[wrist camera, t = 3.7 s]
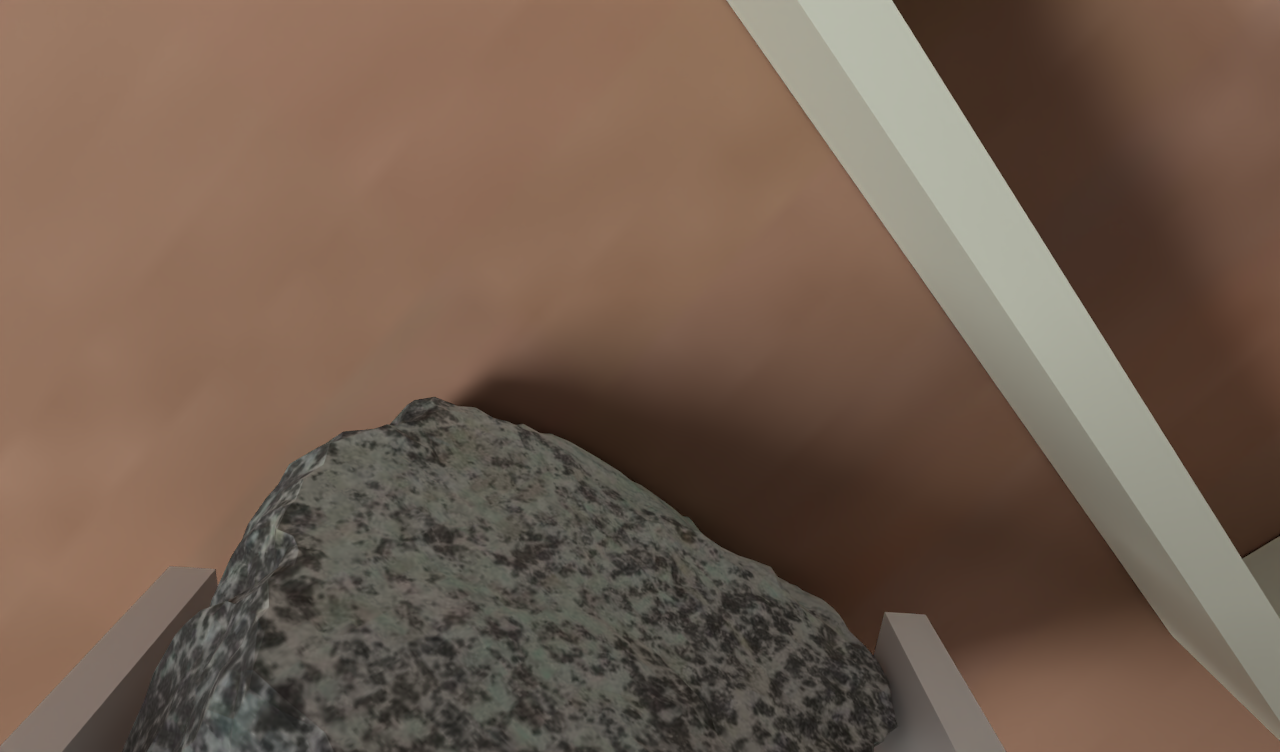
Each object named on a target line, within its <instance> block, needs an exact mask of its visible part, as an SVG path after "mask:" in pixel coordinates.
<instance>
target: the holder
mask: <svg viewBox="0 0 1280 752" xmlns="http://www.w3.org/2000/svg"><path fill="white" fill-rule="evenodd" d="M727 2H728V3H729V4H730V6H731V7H732V9H733V10H734V12H735V13H736V14H737V16H738V17H739V19H740V20H741V22H742V23H743V24H744V26H745V27H746V29H747V30H748V32H749V33H750V34H751V36H752V37H753V39H754V40H755V42H756V43H757V44H758V46H759V47H760V49H761V50H762V52H763V53H764V54H765V56H766V57H767V59H768V60H769V62H770V63H771V64H772V66H773V67H774V69H775V70H776V71H777V73H778V74H779V76H780V77H781V79H782V80H783V81H784V83H785V84H786V86H787V87H788V89H789V90H790V91H791V93H792V94H793V96H794V97H795V99H796V100H797V101H798V103H799V104H800V106H801V107H802V109H803V110H804V111H805V113H806V114H807V116H808V117H809V119H810V120H811V121H812V123H813V124H814V126H815V127H816V129H817V130H818V131H819V133H820V134H821V136H822V137H823V139H824V140H825V141H826V143H827V144H828V146H829V147H830V149H831V150H832V151H833V153H834V154H835V156H836V157H837V159H838V160H839V161H840V163H841V164H842V166H843V167H844V169H845V170H846V171H847V173H848V174H849V176H850V177H851V179H852V180H853V181H854V183H855V184H856V186H857V187H858V189H859V190H860V191H861V193H862V194H863V196H864V197H865V199H866V200H867V201H868V203H869V204H870V206H871V207H872V209H873V210H874V211H875V213H876V214H877V216H878V217H879V219H880V220H881V221H882V223H883V224H884V226H885V227H886V229H887V230H888V231H889V233H890V234H891V236H892V237H893V238H894V240H895V241H896V243H897V244H898V246H899V247H900V248H901V250H902V251H903V253H904V254H905V256H906V257H907V258H908V260H909V261H910V263H911V264H912V266H913V267H914V268H915V270H916V271H917V273H918V274H919V276H920V277H921V278H922V280H923V281H924V283H925V284H926V286H927V287H928V288H929V290H930V291H931V293H932V294H933V296H934V297H935V298H936V300H937V301H938V303H939V304H940V306H941V307H942V308H943V310H944V311H945V313H946V314H947V316H948V317H949V318H950V320H951V321H952V323H953V324H954V326H955V327H956V328H957V330H958V331H959V333H960V334H961V336H962V337H963V338H964V340H965V341H966V343H967V344H968V346H969V347H970V348H971V350H972V351H973V353H974V354H975V356H976V357H977V358H978V360H979V361H980V363H981V364H982V366H983V367H984V368H985V370H986V371H987V373H988V374H989V376H990V377H991V378H992V380H993V381H994V383H995V384H996V386H997V387H998V388H999V390H1000V391H1001V393H1002V394H1003V395H1004V397H1005V398H1006V400H1007V401H1008V403H1009V404H1010V405H1011V407H1012V408H1013V410H1014V411H1015V413H1016V414H1017V415H1018V417H1019V418H1020V420H1021V421H1022V423H1023V424H1024V425H1025V427H1026V428H1027V430H1028V431H1029V433H1030V434H1031V435H1032V437H1033V438H1034V440H1035V441H1036V443H1037V444H1038V445H1039V447H1040V448H1041V450H1042V451H1043V453H1044V454H1045V455H1046V457H1047V458H1048V460H1049V461H1050V463H1051V464H1052V465H1053V467H1054V468H1055V470H1056V471H1057V473H1058V474H1059V475H1060V477H1061V478H1062V480H1063V481H1064V483H1065V484H1066V485H1067V487H1068V488H1069V490H1070V491H1071V493H1072V494H1073V495H1074V497H1075V498H1076V500H1077V501H1078V503H1079V504H1080V505H1081V507H1082V508H1083V510H1084V511H1085V513H1086V514H1087V515H1088V517H1089V518H1090V520H1091V521H1092V523H1093V524H1094V525H1095V527H1096V528H1097V530H1098V531H1099V533H1100V534H1101V535H1102V537H1103V538H1104V540H1105V541H1106V543H1107V544H1108V545H1109V547H1110V548H1111V550H1112V551H1113V553H1114V554H1115V555H1116V557H1117V558H1118V560H1119V561H1120V562H1121V564H1122V565H1123V567H1124V568H1125V570H1126V571H1127V572H1128V574H1129V575H1130V577H1131V578H1132V580H1133V581H1134V582H1135V584H1136V585H1137V587H1138V588H1139V590H1140V591H1141V592H1142V594H1143V595H1144V597H1145V598H1146V600H1147V601H1148V602H1149V604H1150V605H1151V607H1152V608H1153V610H1154V611H1155V612H1156V614H1157V615H1158V617H1159V618H1160V620H1161V621H1162V622H1163V624H1164V625H1165V627H1166V628H1167V630H1168V631H1169V632H1170V634H1171V635H1172V636H1173V637H1174V638H1175V639H1176V640H1177V641H1178V642H1179V643H1180V644H1181V645H1182V646H1183V647H1184V648H1185V649H1186V650H1187V651H1188V652H1189V653H1190V654H1191V655H1192V656H1193V657H1194V658H1195V659H1196V660H1197V661H1198V662H1199V663H1200V664H1201V665H1203V666H1204V667H1205V668H1206V669H1207V670H1208V671H1209V672H1210V673H1211V674H1212V675H1213V676H1214V677H1215V678H1216V679H1217V680H1218V681H1219V682H1220V683H1221V684H1222V685H1223V686H1224V687H1225V688H1226V689H1227V690H1228V691H1229V692H1230V693H1231V694H1232V695H1233V696H1234V697H1235V698H1236V699H1237V700H1238V701H1239V702H1240V703H1242V704H1243V705H1244V706H1245V707H1246V708H1247V709H1248V710H1249V711H1250V712H1251V713H1252V714H1253V715H1254V716H1255V717H1256V718H1257V719H1258V720H1259V721H1260V722H1261V723H1262V724H1263V725H1264V726H1265V727H1266V728H1267V729H1268V730H1269V731H1270V732H1271V733H1272V734H1273V735H1274V736H1275V737H1276V738H1277V739H1278V740H1279V741H1280V536H1279V537H1277V538H1276V539H1274V540H1272V541H1271V542H1269V543H1268V544H1266V545H1264V546H1263V547H1261V548H1259V549H1258V550H1256V551H1254V552H1253V553H1251V554H1249V555H1248V556H1246V557H1244V558H1243V559H1242V558H1241V556H1240V555H1239V553H1238V552H1237V550H1236V548H1235V547H1234V545H1233V544H1232V542H1231V540H1230V539H1229V537H1228V536H1227V534H1226V532H1225V531H1224V529H1223V528H1222V526H1221V524H1220V523H1219V521H1218V520H1217V518H1216V516H1215V515H1214V513H1213V512H1212V510H1211V508H1210V507H1209V505H1208V504H1207V502H1206V501H1205V499H1204V497H1203V496H1202V494H1201V493H1200V491H1199V489H1198V488H1197V486H1196V485H1195V483H1194V481H1193V480H1192V478H1191V477H1190V475H1189V473H1188V472H1187V470H1186V469H1185V467H1184V465H1183V464H1182V462H1181V461H1180V459H1179V457H1178V456H1177V454H1176V453H1175V451H1174V449H1173V448H1172V446H1171V445H1170V443H1169V441H1168V440H1167V438H1166V437H1165V435H1164V433H1163V432H1162V430H1161V429H1160V427H1159V426H1158V424H1157V422H1156V421H1155V419H1154V418H1153V416H1152V414H1151V413H1150V411H1149V410H1148V408H1147V406H1146V405H1145V403H1144V402H1143V400H1142V398H1141V397H1140V395H1139V394H1138V392H1137V390H1136V389H1135V387H1134V386H1133V384H1132V382H1131V381H1130V379H1129V378H1128V376H1127V374H1126V373H1125V371H1124V370H1123V368H1122V366H1121V365H1120V363H1119V362H1118V360H1117V358H1116V357H1115V355H1114V354H1113V352H1112V351H1111V349H1110V347H1109V346H1108V344H1107V343H1106V341H1105V339H1104V338H1103V336H1102V335H1101V333H1100V331H1099V330H1098V328H1097V327H1096V325H1095V323H1094V322H1093V320H1092V319H1091V317H1090V315H1089V314H1088V312H1087V311H1086V309H1085V307H1084V306H1083V304H1082V303H1081V301H1080V299H1079V298H1078V296H1077V295H1076V293H1075V291H1074V290H1073V288H1072V287H1071V285H1070V283H1069V282H1068V280H1067V279H1066V277H1065V276H1064V274H1063V272H1062V271H1061V269H1060V268H1059V266H1058V264H1057V263H1056V261H1055V260H1054V258H1053V256H1052V255H1051V253H1050V252H1049V250H1048V248H1047V247H1046V245H1045V244H1044V242H1043V240H1042V239H1041V237H1040V236H1039V234H1038V232H1037V231H1036V229H1035V228H1034V226H1033V224H1032V223H1031V221H1030V220H1029V218H1028V216H1027V215H1026V213H1025V212H1024V210H1023V208H1022V207H1021V205H1020V204H1019V202H1018V201H1017V199H1016V197H1015V196H1014V194H1013V193H1012V191H1011V189H1010V188H1009V186H1008V185H1007V183H1006V181H1005V180H1004V178H1003V177H1002V175H1001V173H1000V172H999V170H998V169H997V167H996V165H995V164H994V162H993V161H992V159H991V157H990V156H989V154H988V153H987V151H986V149H985V148H984V146H983V145H982V143H981V141H980V140H979V138H978V137H977V135H976V133H975V132H974V130H973V129H972V127H971V126H970V124H969V122H968V121H967V119H966V118H965V116H964V114H963V113H962V111H961V110H960V108H959V106H958V105H957V103H956V102H955V100H954V98H953V97H952V95H951V94H950V92H949V90H948V89H947V87H946V86H945V84H944V82H943V81H942V79H941V78H940V76H939V74H938V73H937V71H936V70H935V68H934V66H933V65H932V63H931V62H930V60H929V58H928V57H927V55H926V54H925V52H924V51H923V49H922V47H921V46H920V44H919V43H918V41H917V39H916V38H915V36H914V35H913V33H912V31H911V30H910V28H909V27H908V25H907V23H906V22H905V20H904V19H903V17H902V15H901V14H900V12H899V11H898V9H897V7H896V6H895V4H894V3H893V1H892V0H727Z"/></svg>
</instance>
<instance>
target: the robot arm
mask: <svg viewBox="0 0 1280 752" xmlns="http://www.w3.org/2000/svg"><path fill="white" fill-rule="evenodd" d="M217 587H218V586H217V577H216V569H206V568H191V567H175V566H169V567H168V569H167V570H166V571H165V572H164V573H163V574H162V575H161V576H160V577H159V578H158V579H157V580H156V581H155V582H154V583H153V584H152V586H151V587H150V588H149V589H148V590H147V591H146V592H145V593H144V594H143V595H142V596H141V597H140V598H139V599H138V600H137V601H136V602H135V604H134V605H133V606H132V607H131V608H130V609H129V610H128V611H127V612H126V613H125V614H124V615H123V616H122V617H121V618H120V619H119V621H118V622H117V623H116V624H115V625H114V626H113V627H112V628H111V629H110V630H109V631H108V632H107V633H106V634H105V635H104V636H103V637H102V639H101V640H100V641H99V642H98V643H97V644H96V645H95V646H94V647H93V648H92V649H91V650H90V651H89V652H88V653H87V654H86V656H85V657H84V658H83V659H82V660H81V661H80V662H79V663H78V664H77V665H76V666H75V667H74V668H73V669H72V670H71V671H70V672H69V674H68V675H67V676H66V677H65V678H64V679H63V680H62V681H61V682H60V683H59V684H58V685H57V686H56V687H55V688H54V689H53V691H52V692H51V693H50V694H49V695H48V696H47V697H46V698H45V699H44V700H43V701H42V702H41V703H40V704H39V705H38V706H37V707H36V709H35V710H34V711H33V712H32V713H31V714H30V715H29V716H28V717H27V718H26V719H25V720H24V721H23V722H22V723H21V724H20V725H19V727H18V728H17V729H16V730H15V731H14V732H13V733H12V734H11V735H10V736H9V737H8V738H7V739H6V740H5V741H4V742H3V744H2V745H1V746H0V752H122V750H123V748H124V745H125V743H126V741H127V738H128V736H129V734H130V731H131V729H132V727H133V724H134V722H135V720H136V718H137V715H138V713H139V711H140V709H141V707H142V704H143V702H144V699H145V696H146V693H147V690H148V688H149V685H150V682H151V679H152V676H153V673H154V671H155V669H156V668H157V666H158V664H159V662H160V661H161V659H162V657H163V655H164V654H165V652H166V650H167V648H168V647H169V645H170V643H171V641H172V640H173V638H174V636H175V635H176V633H177V632H178V631H179V630H180V629H181V628H182V627H183V625H184V624H185V623H187V622H188V621H189V620H190V619H191V618H192V617H193V616H194V615H196V614H197V613H198V612H199V611H200V610H203V609H206V608H208V607H210V604H211V600H212V597H213V595H214V593H215V591H216V589H217ZM874 657H875V658H876V659H877V660H878V662H879V664H880V666H881V668H882V669H883V671H884V673H885V675H886V677H887V679H888V681H889V684H890V691H891V698H892V704H893V709H894V713H895V717H896V721H897V725H898V727H897V728H895V729H894V730H893V731H892V732H890V733H889V734H888V735H887V736H886V738H885V740H884V741H883V742H882V743H880V744H879V745H877V746H876V747H874V752H1006V750H1005V749H1004V747H1003V745H1002V744H1001V742H1000V740H999V739H998V737H997V735H996V733H995V732H994V730H993V728H992V727H991V725H990V723H989V722H988V720H987V718H986V716H985V715H984V713H983V711H982V710H981V708H980V706H979V705H978V703H977V701H976V699H975V698H974V696H973V694H972V693H971V691H970V689H969V688H968V686H967V684H966V682H965V681H964V679H963V677H962V676H961V674H960V672H959V671H958V669H957V667H956V665H955V664H954V662H953V660H952V659H951V657H950V655H949V653H948V652H947V650H946V648H945V647H944V645H943V643H942V642H941V640H940V638H939V636H938V635H937V633H936V631H935V630H934V628H933V626H932V625H931V623H930V621H929V619H928V618H927V616H926V615H925V614H910V613H894V612H884V616H883V620H882V624H881V628H880V632H879V636H878V640H877V644H876V648H875V652H874Z"/></svg>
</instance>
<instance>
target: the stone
mask: <svg viewBox="0 0 1280 752" xmlns="http://www.w3.org/2000/svg"><path fill="white" fill-rule="evenodd" d="M897 727H898V725H897V721H896V717H895V713H894V709H893V704H892V698H891V691H890V684H889V681H888V679H887V677H886V675H885V673H884V671H883V669H882V668H881V666H880V664H879V662H878V660H877V659H876V658H875V657H874V656H873V655H872V653H871V652H870V651H869V650H868V649H867V648H866V647H865V646H864V645H863V644H862V643H861V642H860V641H859V640H858V639H857V638H856V637H855V636H854V635H853V634H852V633H851V632H850V631H849V629H848V628H847V626H846V625H845V623H844V621H843V620H842V618H841V616H840V615H839V614H838V613H837V612H836V610H835V609H834V608H833V607H831V606H830V605H829V604H828V603H826V602H825V601H824V600H823V599H821V598H819V597H816V596H814V595H812V594H810V593H808V592H805V591H803V590H801V589H800V588H799V587H798V586H796V585H793V584H789V583H788V582H787V581H785V580H783V579H781V578H779V577H777V575H776V574H775V572H774V571H773V569H772V568H771V567H770V566H767V565H765V564H762V563H759V562H757V561H754V560H751V559H748V558H745V557H742V556H738V555H736V554H734V553H732V552H730V551H728V550H726V549H724V548H722V547H720V546H719V545H718V544H716V543H715V542H713V541H712V540H710V539H709V538H707V537H706V536H704V535H703V534H702V533H701V532H700V531H699V529H698V528H697V527H696V525H695V524H694V523H693V522H692V520H691V519H690V518H689V517H685V516H682V515H681V514H679V513H678V512H677V511H676V510H675V509H674V508H672V507H671V506H670V505H668V504H667V503H666V502H664V501H663V500H661V499H660V498H659V497H657V496H656V495H654V494H653V493H652V492H650V491H649V490H647V489H646V488H645V487H643V486H642V485H640V484H638V483H635V482H633V481H631V480H630V479H628V478H627V477H626V476H625V475H623V474H622V473H621V472H620V471H618V470H617V469H615V468H613V467H612V466H610V465H609V464H607V463H605V462H604V461H602V460H601V459H599V458H597V457H596V456H594V455H592V454H590V453H589V452H587V451H585V450H584V449H582V448H580V447H578V446H577V445H575V444H573V443H571V442H570V441H567V440H565V439H562V438H560V437H558V436H555V435H553V434H545V433H539V432H537V431H535V430H534V429H532V428H530V427H528V426H526V425H525V424H519V425H515V424H512V423H510V422H508V421H504V420H500V419H496V418H492V417H491V416H489V415H487V414H486V413H484V412H482V411H481V410H479V409H477V408H476V407H465V406H456V405H454V404H451V403H449V402H446V401H444V400H441V399H439V398H436V397H431V398H425V399H419V400H414V401H413V402H411V403H410V404H408V405H407V406H406V407H405V408H404V409H403V410H402V411H401V413H400V414H399V415H398V416H397V417H396V418H395V419H394V420H393V421H392V423H391V424H390V425H385V426H382V427H379V428H376V429H369V430H357V431H345V432H342V433H341V434H339V435H338V436H336V437H335V438H333V439H332V440H330V441H329V442H327V443H326V444H324V445H322V446H320V447H318V448H316V449H315V450H313V451H311V452H309V453H308V454H306V455H304V456H303V457H301V458H299V459H297V460H296V461H294V462H292V463H291V464H289V466H288V468H287V469H286V471H285V473H284V475H283V477H282V479H281V480H280V482H279V484H278V485H277V487H276V488H275V489H274V490H273V491H272V492H271V493H270V495H269V496H268V497H267V498H266V499H265V501H264V502H263V504H262V505H261V506H260V508H259V509H258V511H257V512H256V514H255V515H254V516H253V518H252V519H251V521H250V522H249V524H248V526H247V528H246V531H245V534H244V536H243V539H242V541H241V542H240V543H239V545H238V547H237V548H236V550H235V551H234V553H233V555H232V556H231V558H230V561H229V563H228V565H227V567H226V570H225V572H224V574H223V576H222V578H221V580H220V583H219V585H218V587H217V589H216V591H215V593H214V595H213V597H212V600H211V604H210V607H208V608H206V609H203V610H200V611H199V612H198V613H197V614H196V615H194V616H193V617H192V618H191V619H190V620H189V621H188V622H187V623H185V624H184V625H183V627H182V628H181V629H180V630H179V631H178V632H177V633H176V635H175V636H174V638H173V640H172V641H171V643H170V645H169V647H168V648H167V650H166V652H165V654H164V655H163V657H162V659H161V661H160V662H159V664H158V666H157V668H156V669H155V671H154V673H153V676H152V679H151V682H150V685H149V688H148V690H147V693H146V696H145V699H144V702H143V704H142V707H141V709H140V711H139V713H138V715H137V718H136V720H135V722H134V724H133V727H132V729H131V731H130V734H129V736H128V738H127V741H126V743H125V745H124V748H123V750H122V752H874V747H876V746H877V745H879V744H880V743H882V742H883V741H884V740H885V738H886V736H887V735H888V734H889V733H890V732H892V731H893V730H894V729H895V728H897Z"/></svg>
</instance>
